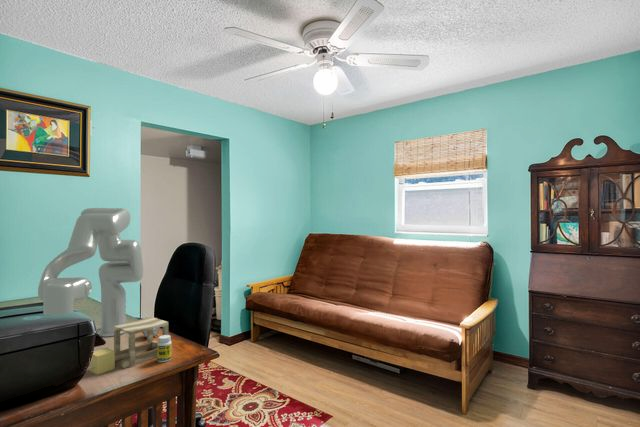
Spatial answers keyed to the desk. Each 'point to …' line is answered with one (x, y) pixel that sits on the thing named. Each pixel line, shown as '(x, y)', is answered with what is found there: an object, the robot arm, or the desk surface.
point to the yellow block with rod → (102, 361)
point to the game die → (155, 332)
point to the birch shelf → (133, 329)
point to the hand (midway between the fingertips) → (58, 381)
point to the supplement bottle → (164, 348)
